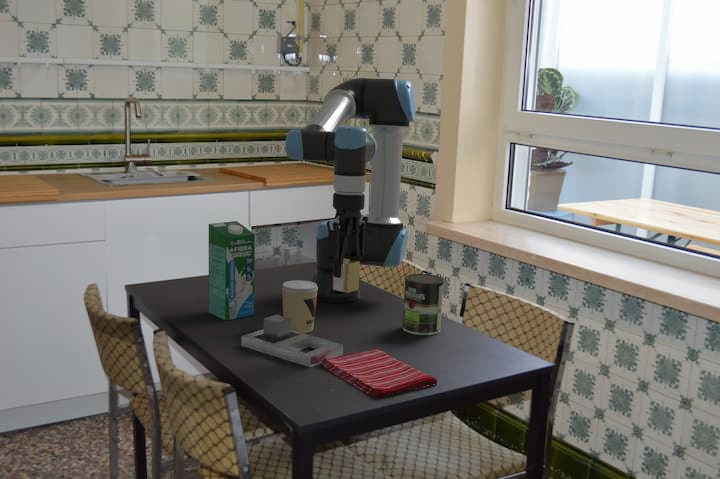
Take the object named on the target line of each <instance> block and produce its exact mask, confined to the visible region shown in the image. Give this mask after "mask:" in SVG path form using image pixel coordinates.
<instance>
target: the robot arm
mask: <svg viewBox="0 0 720 479" xmlns="http://www.w3.org/2000/svg"><path fill="white" fill-rule="evenodd" d="M323 98H324V99H323V101H322V105H321V107H320V108H319V109H318V111H317V112H316V113H315V114H314V116H312V118H311V120H310V121H309V122H308V123H307V125H306V126H304V128H303V129H300V128H298V129H290V130H289V131H288V132H287V134H286V137H285V145H284V146H285V153H286V156H287V157H288V158H289V159H291V160H298V161H301V162H303V161H304V162H306V161H307V162H325V163H326V162H328V163H334V164H333V190H334V193H333V194H332V208H333V209H334V210H335V215H334V219H329V220H325V221H323V222H321V223H319V224H318V226H317V229H316V230H317V232H316V237H315V239H316V245H315V247H316V250H315V252H316V253H315V272H314V276H313V277H312V281H311V282H314V283H316V284H317V287H318V290H317V299H316V302H317V301H318V302H320V303H321V302H323V303H330V304H342V303H343V304H345V303H351V302H355V301H357V300H359V299H360V297H361V295H360V294H361V289H360V288H359V290H356V291H352V292H349V293H346V292H341V291H344V288H345V264H343V261H344V259H350V260H355V261H360V266H370V267H381V268H397V267H399V266H400V265H401V264H402V263H403V260H404V257H405V253H406V249H407V247H408V246H407V245H408V241H409V238H408V237H409V230H408V229H407V228H406V227H404V220H402V219H401V217H400V216H399V212H400V197H401V196H400V194H401V177H402V160H403V145H404V144H403V142H404V134H405V132H406V131H408V129H410V123H412V122H414V121H415V119H416V111H417V110H416V97H415V91H414V86H413V84H412V82H410V81H409V80H405V79H397V78H366V77H356V78H351V79H349V80H346V81H344V82H341V83H339V84H337V85H336V86H334V87H333V88H331V90H329V91H328V92H327V94H326V95H325V96H324V97H323ZM351 119H357V120H358V119H360V120H361V119H362V120H368V127H369V128H370V129H371V131H372V132H373V135H371V134H370V133H368V130H367V129H366V128H365V127H362V126H350V125H349V126H345V125H344V124H345V123H346V122H348V121H350V120H351ZM343 125H344V126H343ZM370 161H371V172H370V173H371V176H370V177H371V178H370V190H369V191H370V192H369V193H370V194H369V207H368V208H369V210H368V212H369V213H368V215H367V216H364V215H362V212H361V211H362V210H364V209H365V202H366V200H365V198H366V197H365V196H366V195H365V194H364V192H365V191H366V180H367V179H366V178H367V177H366V169H367V163H368V162H370ZM333 266H334V270H333ZM333 272H334V273H333ZM333 276H334V290H333ZM337 290H338V291H337Z"/></svg>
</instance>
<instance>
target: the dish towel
mask: <svg viewBox="0 0 720 479" xmlns="http://www.w3.org/2000/svg"><path fill="white" fill-rule="evenodd" d="M319 365H320V366H322V367H324V368H325V369H327V371H329V372H331V373H332V374H333V375H336V376H337V377H338V378H340V379H341V380H344V381H346V382H347V383H349V384H351V385H353V387H356V388H358V390H360V391H361V392H364V393H366V394H367V395H370V396H372V397H373V396H374V397H373V398H375V397H377V398H380V396H382V397H384V396H383V395H387V396H389V395H388V394H391V395H393V394H392V393H396V394H398V393H397V392H401V391H406V390H410V391H412V390H411V389H415V388H420V387H423V386H427V385H433V384H436V385H437V384H438V379H437V378H436V377H434V376H433V375H432V376H431V375H430V374H427V373H425V372H423V371H421V370H418V369H416V368H415V367H412V366H410V365H409V364H406V363H405V362H402V361H401V360H399V359H396V358H394V357H392V356H391V355H389V354H387V353H386V352H384V351H382V350H381V349H378V348H377V349H372V350H367V351H362V352H361V351H360V352H356V353H352V354H351V353H350V354H348V355H341V356H338V357H336V358H323V359H322V363H320V364H319ZM420 389H421V388H420ZM415 390H416V389H415ZM406 392H407V391H406ZM401 393H402V392H401Z"/></svg>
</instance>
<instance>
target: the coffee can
mask: <svg viewBox="0 0 720 479" xmlns="http://www.w3.org/2000/svg"><path fill="white" fill-rule="evenodd" d="M444 281H445V279H444V278H443V277H442V276H439V275H434V274H429V273H411V274H407V275H406V276H404V296H403V297H404V300H403V311H402V312H403V316H402V327H401V328H402V330H403V331H404V332H406V333H408V334H411V335H415V336H416V335H417V336H434V335H437V334H440V332H441V326H442V323H441V322H442V308H443V295H444V294H443V293H444V283H445V282H444Z"/></svg>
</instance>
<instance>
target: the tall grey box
mask: <svg viewBox="0 0 720 479" xmlns="http://www.w3.org/2000/svg"><path fill="white" fill-rule="evenodd" d="M263 329H264V341H267V342H270V343H277V342H280V341H283V340H286V339H289V338H290V318H287V317H283V316H282V315H279V314H273V315H271V316H268V317H264V318H263Z"/></svg>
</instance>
